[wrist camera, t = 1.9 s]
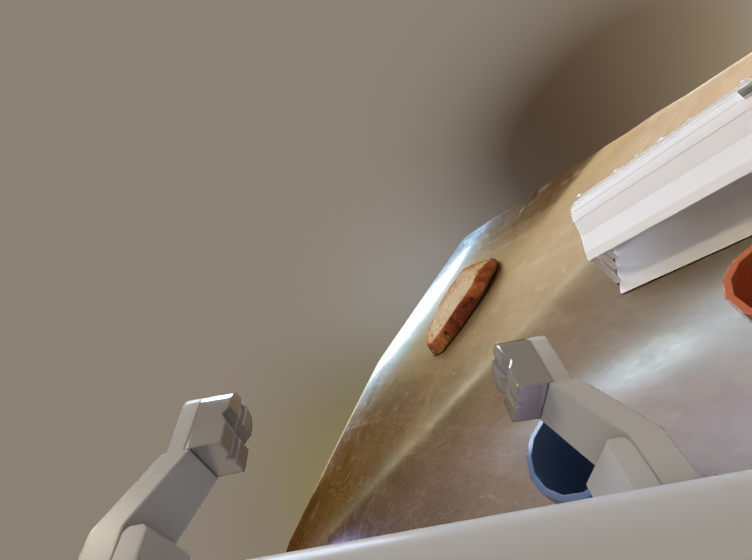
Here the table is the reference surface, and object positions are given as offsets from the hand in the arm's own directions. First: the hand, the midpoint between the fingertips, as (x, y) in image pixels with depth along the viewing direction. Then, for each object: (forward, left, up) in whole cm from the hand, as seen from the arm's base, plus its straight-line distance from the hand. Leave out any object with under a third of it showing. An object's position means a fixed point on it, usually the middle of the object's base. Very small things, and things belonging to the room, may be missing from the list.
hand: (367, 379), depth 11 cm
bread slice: (+29, +47, -25) cm, 61 cm away
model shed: (+36, +7, -25) cm, 45 cm away
